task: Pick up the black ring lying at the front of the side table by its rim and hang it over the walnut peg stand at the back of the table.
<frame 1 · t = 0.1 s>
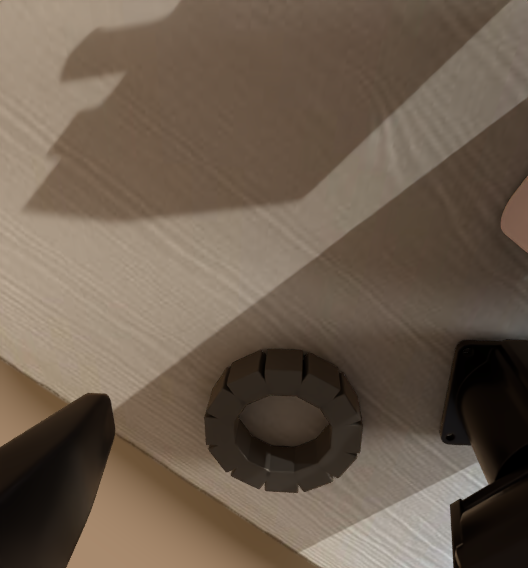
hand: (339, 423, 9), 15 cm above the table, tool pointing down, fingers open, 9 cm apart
ring: (283, 411, 27), on the table
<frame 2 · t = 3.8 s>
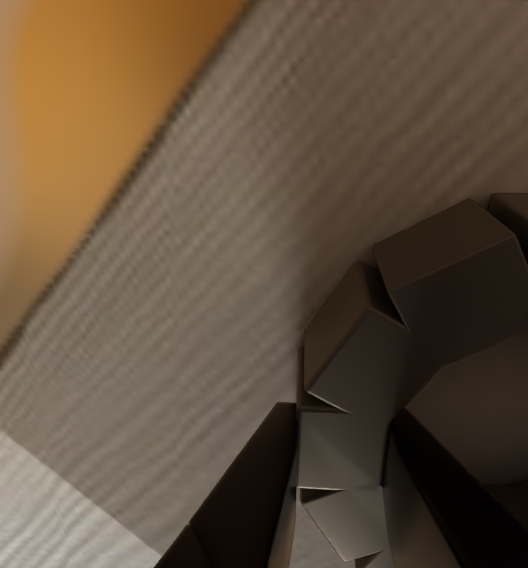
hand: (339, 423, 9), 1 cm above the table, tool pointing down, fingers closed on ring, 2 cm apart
ring: (498, 391, 10), on the table, touching gripper
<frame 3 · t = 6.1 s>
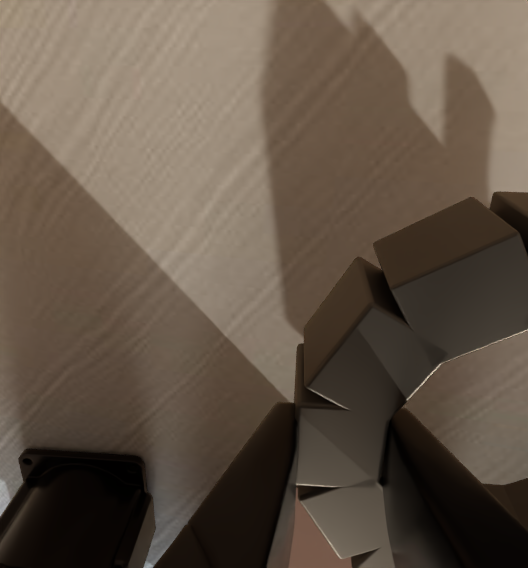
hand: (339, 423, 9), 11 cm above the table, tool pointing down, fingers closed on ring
ring: (495, 390, 10), point 10 cm above the table, touching gripper
electronic device: (324, 534, 26), on the table
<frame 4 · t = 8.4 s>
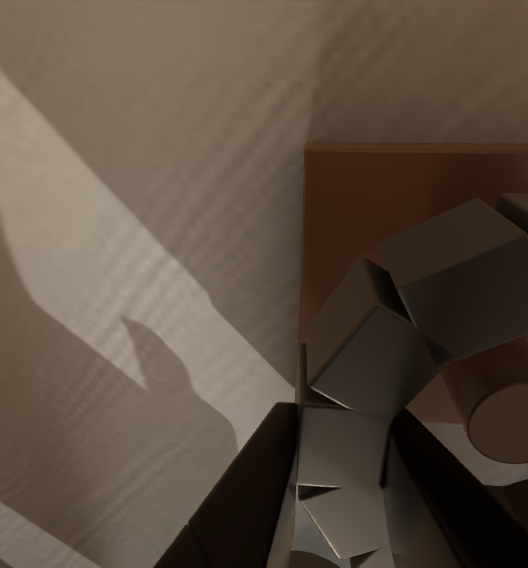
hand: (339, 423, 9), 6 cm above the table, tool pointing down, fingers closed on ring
ring: (496, 391, 10), point 5 cm above the table, touching gripper
stand: (439, 286, 15), on the table
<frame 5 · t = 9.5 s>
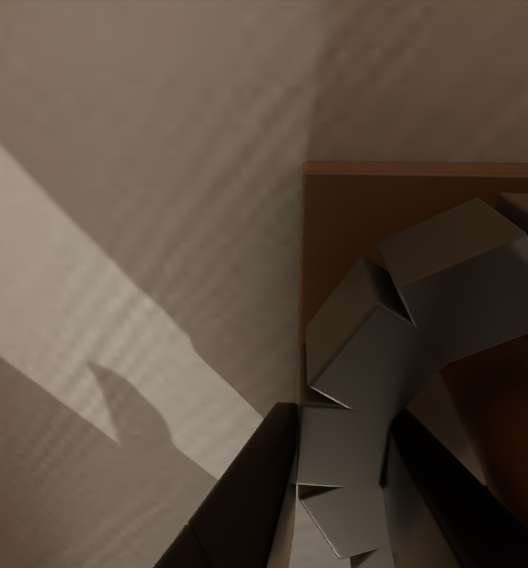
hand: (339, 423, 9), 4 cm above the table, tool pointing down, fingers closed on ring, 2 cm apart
ring: (496, 391, 10), point 2 cm above the table, touching gripper
stand: (465, 331, 12), on the table
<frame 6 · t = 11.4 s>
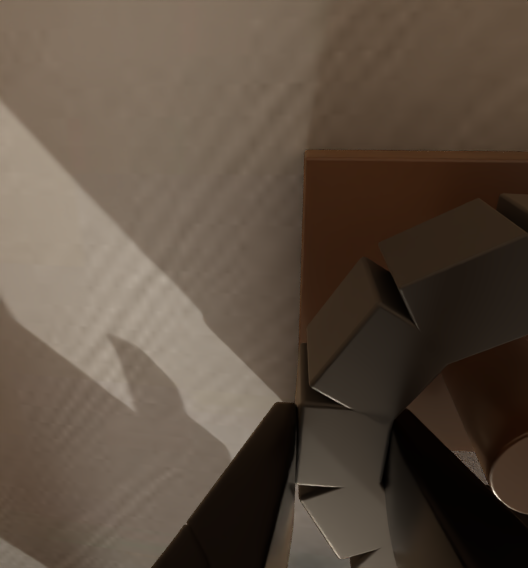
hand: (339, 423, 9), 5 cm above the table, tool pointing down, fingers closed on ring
ring: (496, 392, 10), point 4 cm above the table, touching gripper
stand: (450, 304, 14), on the table
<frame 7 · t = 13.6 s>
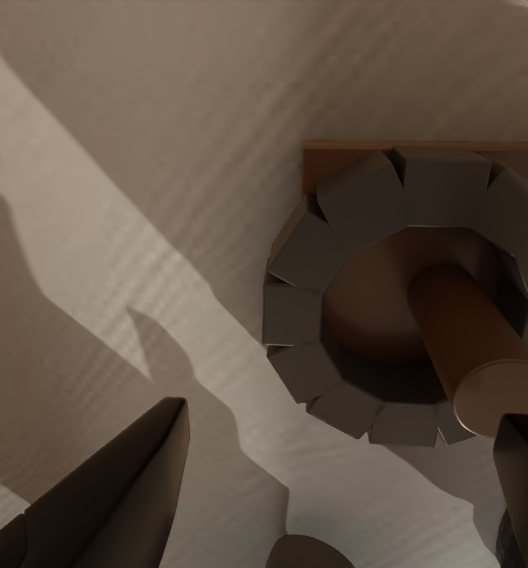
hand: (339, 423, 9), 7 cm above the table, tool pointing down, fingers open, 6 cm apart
ring: (407, 290, 14), point 1 cm above the table, touching stand
stand: (431, 278, 15), on the table
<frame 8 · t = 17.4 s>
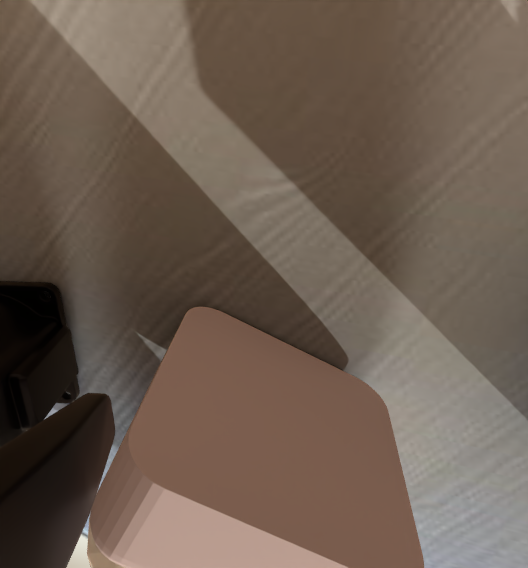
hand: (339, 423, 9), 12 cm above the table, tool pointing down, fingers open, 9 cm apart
perfume bottle: (192, 443, 26), on the table
electronic device: (268, 378, 23), on the table
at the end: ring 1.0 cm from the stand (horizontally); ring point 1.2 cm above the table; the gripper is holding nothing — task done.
